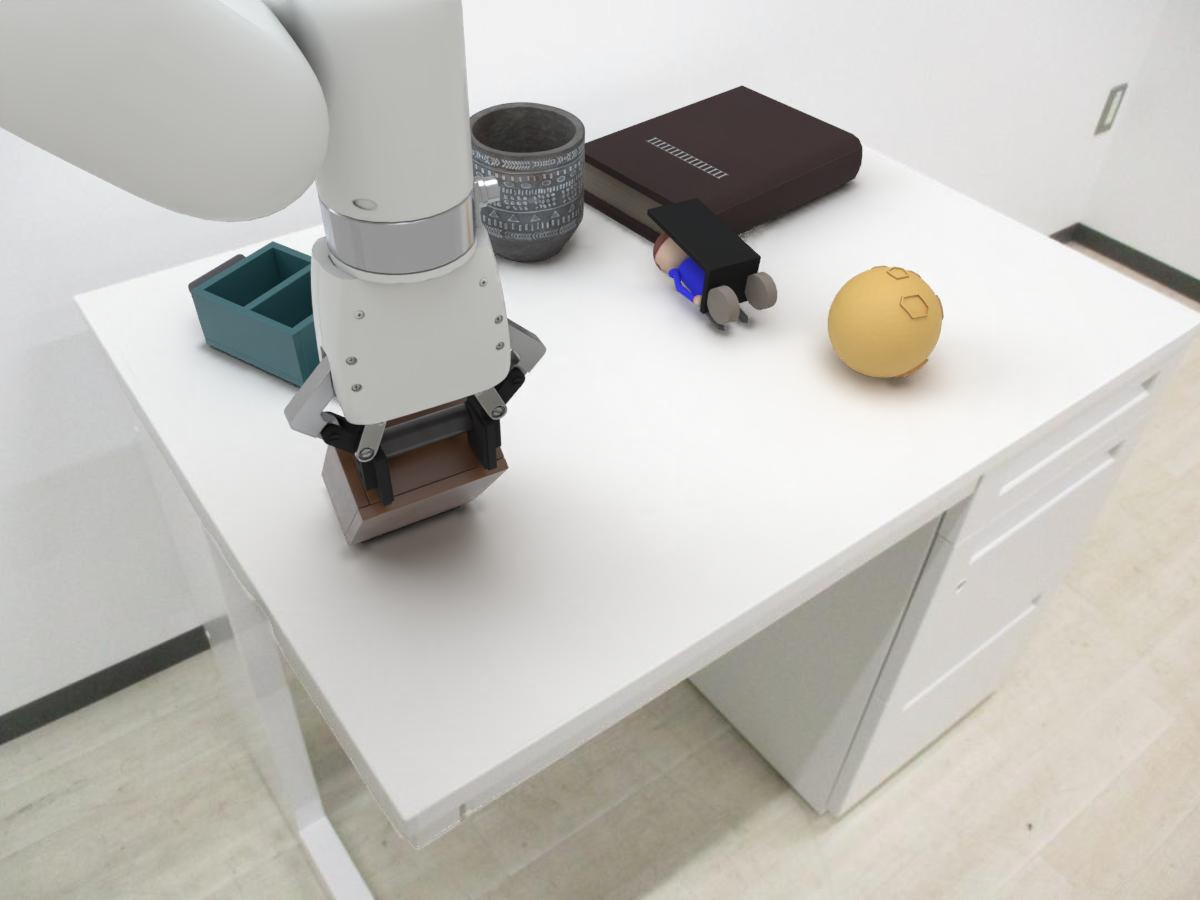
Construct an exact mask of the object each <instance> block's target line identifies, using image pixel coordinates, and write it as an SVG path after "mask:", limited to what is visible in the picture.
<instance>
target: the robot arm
mask: <svg viewBox="0 0 1200 900" xmlns="http://www.w3.org/2000/svg"><path fill="white" fill-rule="evenodd" d="M463 11H464V10H463V0H0V128H2V129H3V130H5V131H7V132H9V133H10V134H13V135H14V136H16V137H18V138H20V139H21V140H23V141H25V142H27V143H29V144H31V145H33V146H35V147H37V148H39V149H41V150H43V151H45V152H47V153H48V154H50V155H53V156H55V157H56V158H59V159H61V160H63V161H64V162H67V163H69V164H71V165H72V166H75V167H76V168H79V169H81V170H82V171H85V172H87V173H89V174H90V175H92V176H95V177H96V178H99V179H101V180H103V181H104V182H106V183H108V184H111V185H112V186H114V187H116V188H119V189H121V190H123V191H125V192H127V193H128V194H131V195H133V196H135V197H137V198H139V199H141V200H144V201H146V202H148V203H150V204H153V205H155V206H158V207H160V208H163V209H166V210H169V211H171V212H174V213H176V214H180V215H184V216H188V217H192V218H196V219H198V220H204V221H211V222H220V223H221V222H222V223H238V222H240V223H241V222H251V221H255V220H259V219H263V218H267V217H270V216H272V215H274V214H276V213H279V212H281V211H283V210H285V209H287V208H288V207H289V206H290V205H292V204H293V203H295V202H296V201H297V200H299V199H300V198H301V197H302V196H303V195H304V194H305V193H306V191H307V190H309V188H310V187H311V186H312V185H313V184H315V188H316V192H317V197H318V202H319V208H320V213H321V218H322V223H323V229H324V234H325V236H322V237H320V238H318V239H316V241H314V243H313V245H312V247H311V255H310V256H311V292H312V307H313V316H314V325H315V333H316V340H317V348H318V354H319V360H320V363H319V365H318V366H317V367H316V368H315V370H314V371H313V372H312V374H311V375H310V376H309V378H308V379H307V380H306V381H305V383H304V384H303V385H302V387H299V389H298V390H297V392H296V393H295V394H294V396H293V397H292V398H291V399H290V401H289V402H288V403H287V405H286V406H285V408H284V410H283V414H284V416H285V419H286V421H287V424H288V425H289V428H290V429H291V430H292V431H295V432H298V433H301V434H303V435H305V436H308V437H310V438H314V439H320V440H323V441H322V442H323V443H325V444H326V445H327V446H328V445H330V446H333V447H335V448H338V449H341V450H344V451H346V452H349V453H352V454H354V455H355V460H356V465H357V470H358V475H359V478H360V481H361V483H362V485H363V487H364V489H365V491H369V490H372V489H375V491H376V493H377V495H378V497H379V499H380V501H381V503H382V505H383V506H387V505H390V504H392V501H394V494H393V489H392V483H391V477H390V471H389V465H388V460H387V457H386V455H385V453H384V451H383V449H382V448H381V446H380V441H381V438H382V435H383V432H384V429H385V426H386V422H387V421H388V420H392V419H395V418H399V417H402V416H405V415H409V414H412V413H415V412H419V411H422V410H425V409H429V408H432V407H435V406H438V405H442V404H445V403H448V402H451V401H454V400H458V399H461V398H464V397H466V398H467V401H465V405H466V407H467V408H468V410H469V412H470V415H471V418H472V423H473V429H472V430H471V431H469V432H467V436H468V443H469V445H470V447H471V448H472V450H473V452H474V453H475V455H476V456H477V458H478V459H479V461H480V463H481V464H482V466H483V467H484V469H485V470H486V469H488V470H489V471H490V470H493V469H495V468H497V458H496V448H498V447H502V431H501V419H502V418H504V417H505V416H506V414H507V413H508V406H507V404H508V403H509V402H510V400H511V399H512V398H513V397H514V396H515V394H516V393H517V392H518V390H520V388H521V387H522V386H523V385H524V383H525V381H526V375H527V374H528V373H531V372H532V371H533V369H534V368H535V367H536V366H537V364H538V363H539V362H540V360H542V359H543V357H544V356H545V355H546V353H547V347H546V345H545V344H544V343H543V341H541V339H540V338H539V337H538V336H537V335H536V334H535V333H534V332H531V331H530V330H528V329H526V328H525V327H523V326H521V324H518V323H516V322H515V321H513V320H512V319H510V318H508V314H507V313H508V312H507V307H506V300H505V295H504V291H503V286H502V282H501V276H500V272H499V268H498V263H497V260H496V259H497V258H496V256H495V252H494V251H493V248H492V245H491V242H490V239H489V236H488V233H487V230H486V228H485V227H484V225H483V224H482V222H481V220H480V212H481V208H482V207H486V206H487V204H488V203H491V202H496V201H499V199H500V189H499V185H498V182H497V180H496V178H495V177H494V176H493V175H492V176H487V177H483V178H481V177H480V176H475V177H474V176H473V164H472V148H471V132H470V117H471V116H470V102H469V88H468V73H467V72H468V71H467V58H466V41H465V27H464V25H465V24H464V12H463ZM335 394H336V396H335ZM334 397H336V400H337V402H338V405H339V407H340V408H341V411H342V414H343V416H342V415H340V414H337V413H335V412H332V411H330V410H329V411H324V409H325V408H326V407H328V405H329V403H330V402H331V401H332V400H333V398H334Z"/></svg>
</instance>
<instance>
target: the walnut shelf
mask: <svg viewBox="0 0 1200 900" xmlns="http://www.w3.org/2000/svg"><path fill="white" fill-rule="evenodd" d="M465 401H467V398H466V397H464V398H461V399H458V400H454V401H451V402H448V403H445V404H442V405H438V406H435V407H432V408H429V409H425V410H422V411H419V412H415V413H412V414H409V415H405V416H402V417H399V418H395V419H392V420H388V421H387V422H386V426H385V429H384V432H383V435H382V438H381V441H380V446H381V448H382V449H383V451H384V453H385V455H386V457H387V460H388V465H389V471H390V477H391V483H392V489H393V494H394V501H392V504H390V505H387V506H383V505H382V503H381V501H380V499H379V497H378V495H377V493H376V491H375V489H372V490H369V491H365V489H364V487H363V485H362V483H361V481H360V478H359V475H358V470H357V465H356V460H355V455H354V454H352V453H349V452H346V451H344V450H341V449H338V448H335V447H333V446H330V445H327V448H326V453H325V457H324V460H323V465H322V470H321V474H320V475H321V477H322V480H323V483H324V485H325V488H326V491H327V494H328V496H329V498H330V501H331V504H332V506H333V509H334V511H335V514H336V517H337V520H338V522H339V525H340V529H341V530H342V533H343V535H344V538H345V540H346V544H347V546H348V547H351V546H355V545H358V544H359V543H360V544H361V542H362V541H365V540H368V539H371V538H373V537H376V536H379V535H381V534H384V533H387V532H390V531H392V530H395V529H398V528H401V527H403V526H406V525H409V524H411V523H414V522H417V521H420V520H422V519H425V518H428V517H430V516H433V515H436V514H439V513H441V512H444V511H447V510H449V509H452V508H455V507H458V506H460V507H461V506H463V505H466V504H468V503H471V502H473V501H475V500H476V499H477V498H478V497H479V496H480V495H481V494H482V493H484V492H485V491H486V489H488V488H489V487H490V486H491V485H492V484H494V482H496V480H498V479H499V478H500V477H501V476H503V474H504V473H505V472H506V471H508V469H509V465H508V462H507V460H506V458H505V454H504V452H503V449H502V448H501V447H502V446H501V447H498V448H496V458H497V468H495V469H493V470H490V471H489V470H488V469H486V470H485V469H484V467H483V466H482V464H481V463H480V461H479V459H478V458H477V456H476V455H475V453H474V452H473V450H472V448H471V447H470V445H469V443H468V436H467V432H469V431H471V430H472V429H473V423H472V418H471V415H470V412H469V410H468V408H467V407H466V405H465ZM458 508H459V507H458ZM455 509H456V508H455ZM447 512H448V511H447ZM444 513H445V512H444ZM439 515H440V514H439ZM436 516H437V515H436ZM428 519H429V518H428ZM425 520H426V519H425ZM420 522H421V521H420ZM417 523H418V522H417ZM414 524H415V523H414ZM409 526H410V525H409ZM406 527H407V526H406ZM401 529H402V528H401ZM398 530H399V529H398ZM395 531H396V530H395ZM390 533H391V532H390ZM387 534H388V533H387ZM379 537H380V536H379ZM376 538H377V537H376ZM371 540H372V539H371ZM368 541H369V540H368Z"/></svg>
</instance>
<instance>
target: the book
mask: <svg viewBox="0 0 1200 900" xmlns="http://www.w3.org/2000/svg"><path fill="white" fill-rule="evenodd" d="M862 162H863V145H862V143H861V140H860V138H858V137H857V136H856V135H855V134H853V133H851V132H849V131H847V130H845V129H843V128H840V127H838V126H836V125H833V124H831V123H829V122H827V121H824V120H822V119H820V118H817V117H816V116H813V115H811V114H808V113H807V112H804V111H801V110H799V109H797V108H795V107H792V106H790V105H788V104H786V103H783V102H781V101H779V100H777V99H774V98H772V97H770V96H767V95H765V94H763V93H761V92H759V91H756V90H754V89H752V88H749V87H747V86H744V85H740V86H739V85H738V86H736V87H734V88H731V89H728V90H725V91H723V92H720V93H718V94H716V95H712V96H710V97H707V98H703V99H702V100H698V101H696V102H692V103H690V104H688V105H685V106H683V107H679V108H677V109H674V110H671V111H668V112H666V113H663V114H660V115H657V116H656V117H655V116H654V117H652V118H650V119H649V118H648V119H646V120H644V121H642V122H639V123H636V124H633V125H630V126H628V127H625V128H622V129H619V130H617V131H614V132H612V133H609V134H607V135H603V136H601V137H598V138H595V139H593V140H592V139H591V140H590V141H587V142H585V170H584V204H587V205H589V206H591V207H592V208H593V209H595V210H597V211H598V212H601V214H604V215H605V216H607V217H609V218H610V219H612V220H614V221H616V222H617V223H619V224H620V225H622V226H624V227H625V228H627V229H629V230H631V231H632V232H633V233H635V234H637V235H639V236H641V237H642V238H643V239H645V240H647V241H649V242H650V243H652V244H653V245H654V244H655V242H656V240H657V238H658V237H659V236H660V235H661V234H662V233H663V232H664V231H663V230H662V229H661V228H660V227H659V226H658V225H657V224H656V223H655V222H654V221H653V220H652V219H651V218H650V217H649V216H648V215H647V212H648V209H651V208H656V207H660V206H664V205H669V204H673V203H677V202H682V201H686V200H690V199H695V198H698V199H699V200H700V201H701V202H702V203H703V204H704V205H706V206H707V207H708V208H709V209H710V210H711V211H712V212H713V213H714V214H715V215H716V216H717V217H719V218H720V219H721V220H722V221H723V222H724V223H725V224H726V225H727V226H728V227H729V228H730V229H732V230H733V231H734V232H735V233H736V234H737V235H738V236H740V235H742V234H744V233H746V232H748V231H750V230H752V229H754V228H756V227H758V226H760V225H763V224H765V223H767V222H768V221H771V220H773V219H775V218H777V217H779V216H781V215H784V214H785V213H787V212H789V211H791V210H794V209H795V208H797V207H799V206H801V205H804V204H806V203H808V202H810V201H812V200H814V199H816V198H819V197H820V196H823V195H825V194H827V193H829V192H831V191H832V190H835V189H837V188H839V187H841V186H843V185H845V184H848V183H849V182H851V181H853V180H855V179H856V177H858V174H859V172H860V169H861V167H862Z"/></svg>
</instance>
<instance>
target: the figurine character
mask: <svg viewBox="0 0 1200 900" xmlns="http://www.w3.org/2000/svg"><path fill="white" fill-rule="evenodd" d="M647 215H648V216H649V217H650V218H651V219H652V220H653V221H654V222H655V223H656V224H657V225H658V226H659V227H660V228H661V229H662V230H663V231H664V232H663V233H662V234H661V235H660V236H659V237H658V238H657V240H656V242H655V244H654V243H653V249H652V257H653V261H654V264H655V265H656V267H657V269H659V270H660V271H661V272H662V273H663V274H665V275H667V276H668V277H669V278H671V279H673V282H674V286H675V291H676V292H678V293H679V294H680V295H682V296H683V297H685V299H687V300H688V301H690V302H691V303H693V304H694V305H695V306H696V307H699V312H700V313H701V314H702V315H704V314H705V316H707V318H708V319H709V320H710V321H711V322H712V323H713V324H714V326H716V328H717V329H718V330H720V331H724V332H725V329H726V328H725V325H726V324H729V323H733V322H736V321H737V320H739V321H740V322H742V323H749V316H748V314H746V313H745V312H744V310H743V309H742V308H741V307H740V304H742V303H747V302H748V304H749V305H750V306H751V307H752V308H753V309H755V310H756V311H762V310H766V309H770V308H772V307H774V306H775V305H776V303H777V301H778V289H777V286H776V282H775V281H774V279H773V278H772V276H771V275H770V274H769V273H767V272H765V271H759V269H760V264H761V260H762V256H761V255H760V254H759V253H758V252H757V251H755V249H754V248H752V246H751V245H749V244H748V243H747V242H746V241H745V240H744V239H743V238H741V236H740V235H737V234H736V233H735V232H734V231H733V230H732V229H730V228H729V227H728V226H727V225H726V224H725V223H724V222H723V221H722V220H721V219H720V218H719V217H717V216H716V215H715V214H714V213H713V212H712V211H711V210H710V209H709V208H708V207H707V206H706V205H704V204H703V203H702V202H701V201H700V200H699V199H698V198H695V199H690V200H686V201H682V202H677V203H673V204H669V205H664V206H660V207H656V208H651V209H648V212H647Z"/></svg>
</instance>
